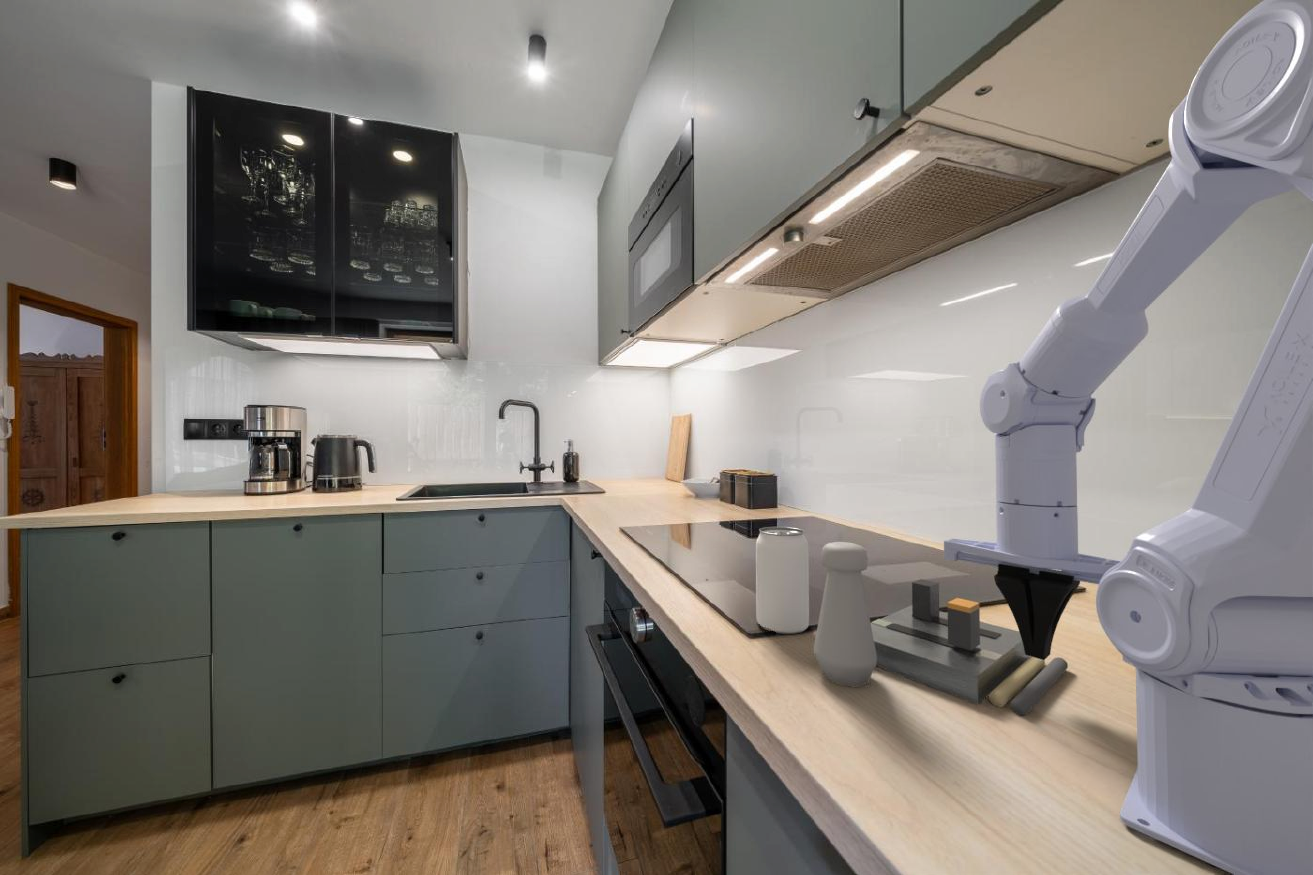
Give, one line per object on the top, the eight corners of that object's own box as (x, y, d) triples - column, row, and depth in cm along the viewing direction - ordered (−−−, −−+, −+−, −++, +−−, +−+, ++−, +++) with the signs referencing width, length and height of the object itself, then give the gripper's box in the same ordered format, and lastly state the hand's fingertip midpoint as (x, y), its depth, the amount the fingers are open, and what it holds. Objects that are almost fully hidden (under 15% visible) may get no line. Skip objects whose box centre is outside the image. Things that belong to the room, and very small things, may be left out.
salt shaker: (838, 695, 43) (836, 552, 43) (802, 666, 48) (801, 540, 48) (891, 686, 44) (889, 548, 44) (850, 659, 50) (849, 537, 50)
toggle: (980, 644, 47) (979, 602, 47) (970, 650, 45) (970, 607, 45) (957, 637, 48) (957, 597, 48) (948, 643, 47) (947, 602, 47)
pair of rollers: (1069, 670, 47) (1069, 658, 47) (1028, 717, 39) (1027, 703, 39) (1034, 660, 49) (1034, 648, 50) (988, 703, 41) (988, 689, 41)
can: (819, 632, 57) (818, 533, 57) (771, 637, 55) (770, 536, 56) (791, 614, 63) (791, 525, 64) (747, 618, 62) (747, 527, 62)
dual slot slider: (1030, 657, 50) (1028, 596, 50) (977, 704, 41) (976, 629, 41) (913, 624, 60) (912, 572, 60) (849, 656, 50) (849, 595, 51)
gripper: (1157, 507, 39) (1161, 671, 39) (962, 494, 51) (963, 620, 50) (1144, 515, 35) (1148, 700, 34) (934, 498, 46) (935, 636, 46)
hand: (1037, 654), depth 42 cm, fingers closed
